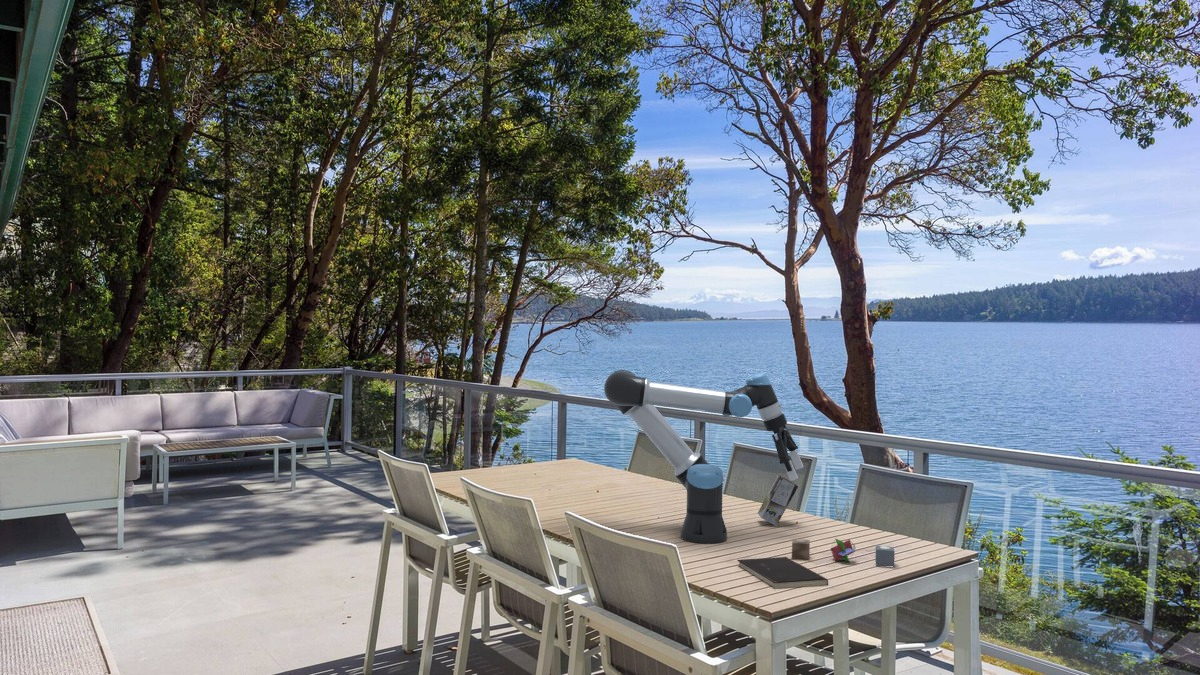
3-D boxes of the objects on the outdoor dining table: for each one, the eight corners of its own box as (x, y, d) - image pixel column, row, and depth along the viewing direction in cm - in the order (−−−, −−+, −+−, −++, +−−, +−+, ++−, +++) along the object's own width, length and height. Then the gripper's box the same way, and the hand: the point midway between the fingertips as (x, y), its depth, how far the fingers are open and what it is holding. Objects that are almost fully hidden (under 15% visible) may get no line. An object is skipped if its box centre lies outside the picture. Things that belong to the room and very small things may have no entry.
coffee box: (776, 526, 298) (798, 486, 298) (760, 518, 298) (782, 477, 298) (772, 521, 307) (793, 482, 307) (756, 512, 307) (778, 473, 307)
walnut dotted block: (791, 559, 255) (792, 541, 255) (792, 555, 259) (792, 538, 259) (808, 560, 253) (809, 543, 253) (809, 556, 258) (809, 539, 258)
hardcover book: (774, 590, 224) (774, 582, 224) (737, 567, 246) (737, 559, 246) (828, 586, 228) (828, 578, 228) (787, 564, 250) (787, 556, 250)
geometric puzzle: (832, 557, 248) (847, 535, 250) (820, 551, 255) (835, 530, 256) (849, 571, 250) (864, 549, 251) (837, 565, 257) (851, 543, 258)
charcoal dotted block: (876, 566, 248) (876, 548, 248) (875, 562, 253) (875, 544, 253) (894, 568, 247) (894, 550, 247) (893, 563, 252) (893, 546, 252)
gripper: (777, 421, 278) (802, 481, 278) (788, 405, 301) (812, 460, 301) (756, 428, 281) (781, 487, 281) (769, 412, 304) (792, 467, 304)
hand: (797, 474), depth 291 cm, fingers open, 13 cm apart
